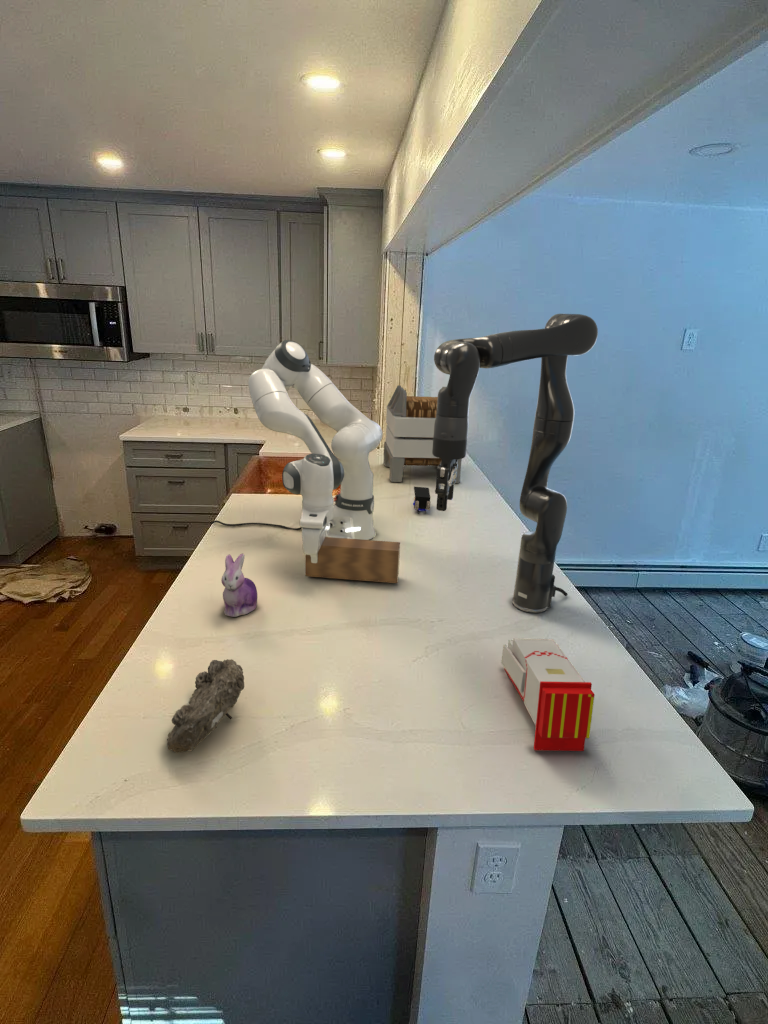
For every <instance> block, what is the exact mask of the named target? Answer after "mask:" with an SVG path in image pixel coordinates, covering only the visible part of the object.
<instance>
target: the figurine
mask: <svg viewBox="0 0 768 1024" xmlns="http://www.w3.org/2000/svg"><path fill="white" fill-rule="evenodd" d="M244 563H245V554H244V553H240V554H239V555H238V556H237V558H236V559H235V560H234V558H233V557H232V555H231V554H227V555H226V556H225V560H224V564H225V565H224V566H225V567H224V568H225V570H224V572H223V574H222V576H221V579H220V580H221V584H222V586H223V587H224V589H223V591H222V599H223V603H224V611H223V613H224V615H225V616H228V617H234V618H236V617H239V616H245V615H248V614H249V613H251V612H253V611H254V610H256V609H257V606H258V590H257V589H258V588H257V586H256V584H255V583H254V581H253V580H252V579H250V578H248V577H245V575H244V573H243V571H242V569H243V566H244Z"/></svg>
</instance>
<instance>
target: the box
mask: <svg viewBox="0 0 768 1024" xmlns="http://www.w3.org/2000/svg"><path fill="white" fill-rule="evenodd" d="M400 554H401V542H400V541H386V540H373V539H369V540H361V539H347V538H334V537H325V539H324V541H323V543H322V545H321V547H320V549H319V551H318V562H317V563H312V562H311V556H310V555H306V554H304V559H305V560H304V562H305V563H304V564H305V565H304V566H305V568H304V569H305V571H304V572H305V577H311V578H312V577H313V578H324V579H325V578H326V579H339V580H351V581H363V582H364V581H365V582H376V583H389V584H398V580H399V574H400V557H401V556H400Z"/></svg>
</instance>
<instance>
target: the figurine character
mask: <svg viewBox="0 0 768 1024" xmlns="http://www.w3.org/2000/svg"><path fill="white" fill-rule="evenodd" d="M413 491H414V497H413V503H412V505H413V509H414V510H416V513H417V514H420V512H424V514H425V515H426V514H427V511H430V510H431V493H430V488H429V487H426V486H424V487H423V486H413Z"/></svg>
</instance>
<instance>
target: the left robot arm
mask: <svg viewBox="0 0 768 1024" xmlns="http://www.w3.org/2000/svg"><path fill="white" fill-rule="evenodd" d="M247 385H248V392H249V396H250V400H251V403H252V405H253V409H254V411H255V414H256V416H257V418H258V420H259V421H260V423H261V424H262V425H263V427H265V428H266V429H268V430H270V431H273V432H276V433H280V434H281V433H282V434H287V435H290V436H293V437H296V438H298V439H300V440H301V441H302V442H303V443H304V444H305V445H306V447H307V449H308V450H309V454H306V455H305V456H304V457H303V458H301V459H298V460H297V459H296V460H293V461H289V462H287V463H286V465H284V467H283V470H282V471H281V472H282V473H281V481H282V485H283V488H285V490H287V491H288V492H289V493H291V494H293V495H297V496H298V495H301V496H302V500H301V516H300V520H299V527H297V528H296V527H295V528H293V527H289V526H286V525H282V524H277V523H267V522H243V523H241V522H240V523H225V522H222V521H220V520H213V521H211V522H210V525H213V524H220V525H222V526H225V527H241V526H268V527H278V528H282V529H286V530H293V531H301V542H302V551H303V553H304V555H305V554H306V555H310V556H311V562H312V563H317V562H318V551H319V549H320V547H321V545H322V543H323V541H324V539H325V537H334V538H347V539H361V540H373V538H375V537H376V535H377V532H376V528H375V523H374V513H373V512H374V509H375V496H374V473H373V471H372V469H371V465H370V461H369V455H370V453H371V452H372V451H375V450H376V449H377V448H378V447H379V445H380V444H381V442H382V440H383V435H384V433H383V430H382V427H381V425H380V424H379V423H377V422H376V421H374V420H372V419H371V418H370V417H369V418H368V416H366V415H365V414H364V413H362V411H360V410H359V409H358V408H357V407H355V405H353V404H352V403H351V402H349V400H348V399H347V398H346V397H345V396H344V394H343V393H342V392H341V391H340V389H339V388H338V387H337V386H336V385H335V384H334V382H333V381H332V379H331V378H329V377H328V375H326V374H325V373H324V371H322V370H321V369H319V367H318V366H316V365H315V364H313V363H311V360H310V357H309V355H308V353H307V351H306V349H305V348H304V347H303V346H302V344H300V343H299V342H298V341H294V340H290V339H284V340H282V341H281V342H279V344H277V345H276V346H275V348H274V349H273V351H272V352H271V353H270V354H269V355H268V357H267V358H266V359H265V362H264V363H263V365H262V367H261V368H259V369H257V370H255V371H253V372H252V373H251V374H250V376H249V378H248V381H247ZM291 388H293V389H294V390H296V391H297V393H298V394H299V395H300V397H301V399H303V401H304V402H305V404H306V405H307V406H308V407H309V408H310V410H311V411H312V412H313V413H314V415H315V416H316V417H317V418H318V420H320V422H321V423H322V424H324V425H325V426H328V427H329V428H331V429H332V430H334V431H335V432H336V433H335V434H334V436H333V437H332V439H331V441H330V443H331V444H330V447H331V448H330V447H329V445H328V443H327V442H326V440H325V439H324V437H323V436H322V434H321V432H320V430H319V429H318V427H317V426H316V424H315V423H314V421H313V420H312V419H311V417H310V416H309V415H308V414H306V413H305V412H304V411H302V410H301V409H300V408H298V407H297V405H295V404H294V402H293V401H292V399H291V397H290V395H289V393H288V391H290V390H291ZM339 487H340V488H339ZM338 488H339V489H340V490H339V491H338V492H337V494H336V495H335V496H334V497H333V492H334V490H337V489H338Z"/></svg>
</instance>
